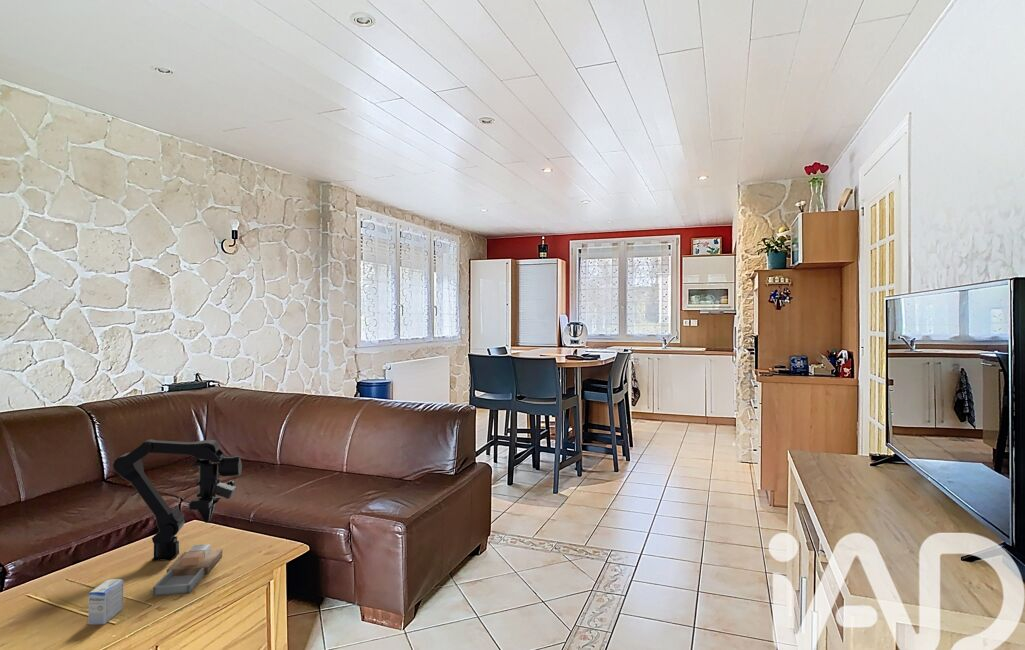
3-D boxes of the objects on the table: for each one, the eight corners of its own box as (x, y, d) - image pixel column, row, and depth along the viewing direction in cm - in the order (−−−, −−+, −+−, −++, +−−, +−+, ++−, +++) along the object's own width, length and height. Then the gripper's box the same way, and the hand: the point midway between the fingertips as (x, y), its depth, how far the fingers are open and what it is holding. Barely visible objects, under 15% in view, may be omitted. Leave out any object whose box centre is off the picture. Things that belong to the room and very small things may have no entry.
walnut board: (166, 577, 176) (166, 569, 176) (184, 559, 190) (184, 551, 190) (207, 574, 178) (207, 567, 178) (222, 556, 192) (222, 549, 192)
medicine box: (106, 610, 156) (107, 579, 156) (123, 609, 156) (123, 578, 156) (87, 625, 148) (88, 592, 148) (105, 624, 148) (105, 592, 148)
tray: (152, 595, 164) (152, 587, 164) (170, 577, 176) (170, 569, 176) (189, 593, 166) (189, 584, 166) (204, 575, 178) (204, 567, 178)
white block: (188, 558, 184) (188, 550, 184) (194, 552, 189) (194, 545, 189) (204, 557, 185) (205, 550, 185) (210, 551, 190) (210, 544, 190)
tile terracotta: (181, 565, 179) (181, 558, 179) (187, 559, 184) (187, 551, 184) (198, 564, 180) (198, 557, 180) (204, 558, 185) (204, 550, 185)
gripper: (224, 483, 187) (223, 530, 187) (241, 469, 205) (240, 511, 205) (188, 485, 185) (187, 532, 185) (208, 470, 203) (207, 513, 203)
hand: (207, 521), depth 195 cm, fingers closed
